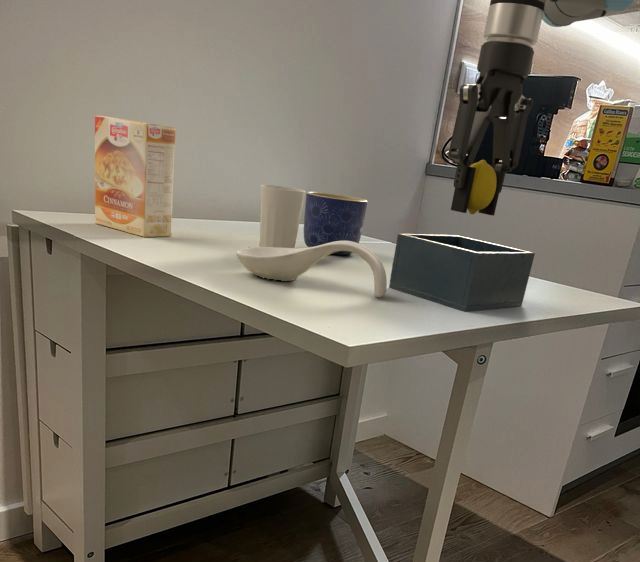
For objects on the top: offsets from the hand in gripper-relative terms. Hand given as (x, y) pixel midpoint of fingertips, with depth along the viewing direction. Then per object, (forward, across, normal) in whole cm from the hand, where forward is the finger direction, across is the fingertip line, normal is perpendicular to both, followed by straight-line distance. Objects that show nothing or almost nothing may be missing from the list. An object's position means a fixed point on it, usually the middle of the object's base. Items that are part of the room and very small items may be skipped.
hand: (472, 212), depth 104 cm
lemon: (+1, 0, 0) cm, 1 cm away
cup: (+14, +16, -31) cm, 37 cm away
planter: (+14, -1, -38) cm, 40 cm away
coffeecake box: (+14, +35, -54) cm, 66 cm away
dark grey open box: (+13, 0, 0) cm, 13 cm away
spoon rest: (+14, +23, -9) cm, 28 cm away
